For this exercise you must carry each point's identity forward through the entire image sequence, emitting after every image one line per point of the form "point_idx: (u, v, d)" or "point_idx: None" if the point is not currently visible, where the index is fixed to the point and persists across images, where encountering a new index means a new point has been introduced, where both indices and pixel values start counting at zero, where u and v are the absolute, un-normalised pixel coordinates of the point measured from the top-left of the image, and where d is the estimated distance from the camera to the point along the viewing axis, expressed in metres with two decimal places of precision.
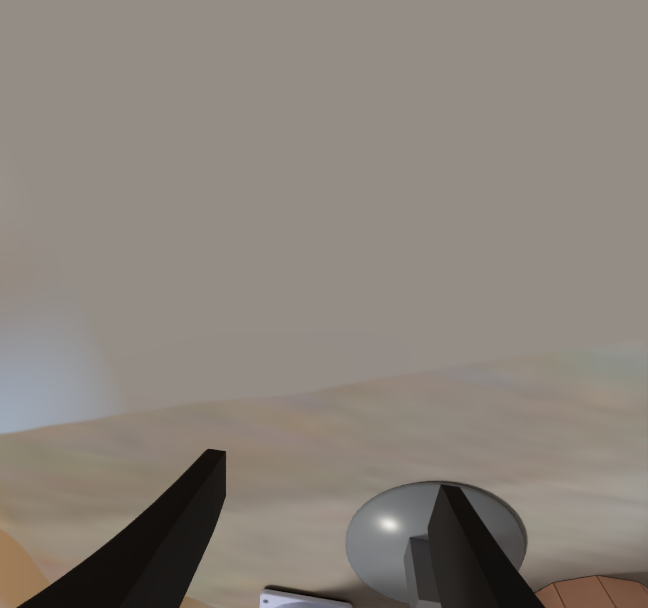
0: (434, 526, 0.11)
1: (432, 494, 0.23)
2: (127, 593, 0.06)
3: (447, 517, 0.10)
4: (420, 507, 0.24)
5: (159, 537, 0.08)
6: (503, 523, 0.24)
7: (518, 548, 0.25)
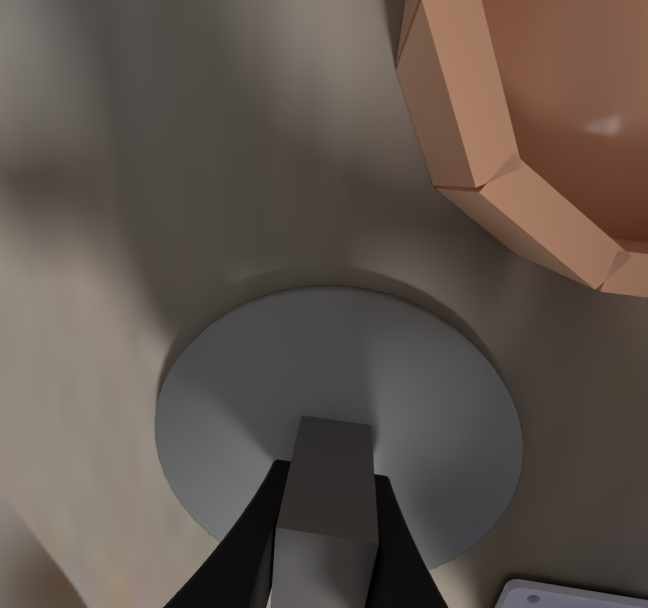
0: None
1: (179, 467, 0.13)
2: None
3: None
4: (213, 484, 0.13)
5: (257, 553, 0.08)
6: (220, 349, 0.11)
7: (292, 308, 0.10)
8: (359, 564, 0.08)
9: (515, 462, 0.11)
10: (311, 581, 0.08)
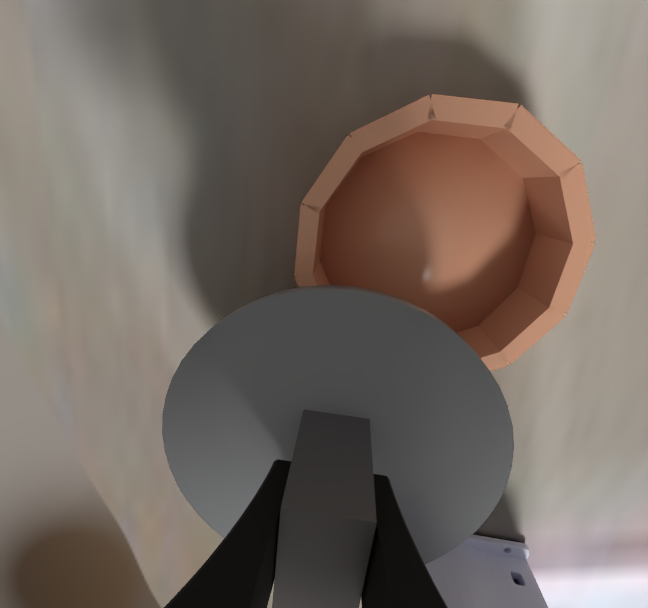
0: None
1: (184, 461, 0.13)
2: None
3: None
4: (217, 477, 0.13)
5: (258, 553, 0.08)
6: (227, 345, 0.12)
7: (296, 306, 0.11)
8: (358, 543, 0.08)
9: (506, 455, 0.12)
10: (313, 561, 0.09)
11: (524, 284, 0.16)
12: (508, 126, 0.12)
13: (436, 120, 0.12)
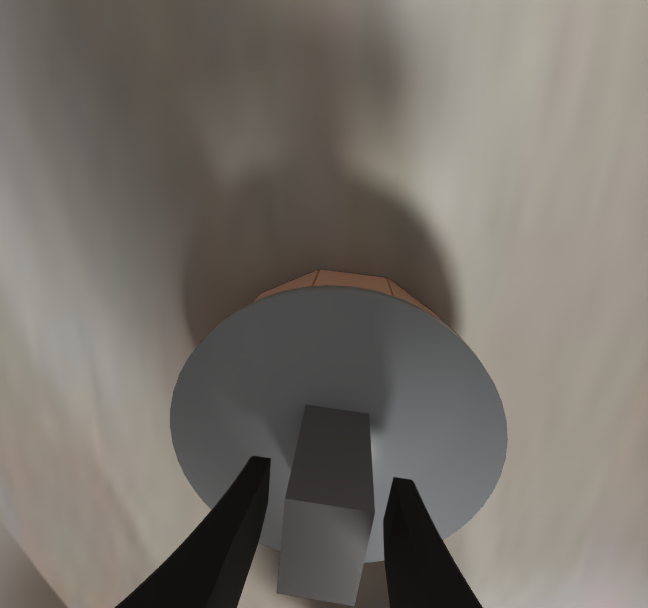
0: (387, 518, 0.11)
1: (191, 453, 0.14)
2: (204, 606, 0.06)
3: (396, 509, 0.10)
4: (223, 468, 0.14)
5: (223, 548, 0.08)
6: (232, 343, 0.12)
7: (298, 306, 0.11)
8: (357, 532, 0.09)
9: (500, 448, 0.12)
10: (315, 548, 0.09)
11: None
12: None
13: None
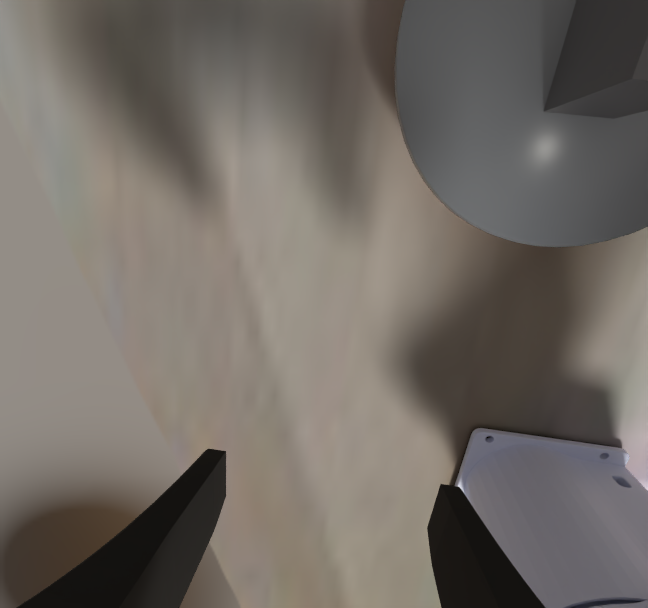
0: (434, 526, 0.11)
1: (417, 74, 0.12)
2: (127, 593, 0.06)
3: (447, 517, 0.10)
4: (452, 96, 0.12)
5: (159, 537, 0.08)
6: None
7: None
8: None
9: None
10: None
11: None
12: None
13: None
